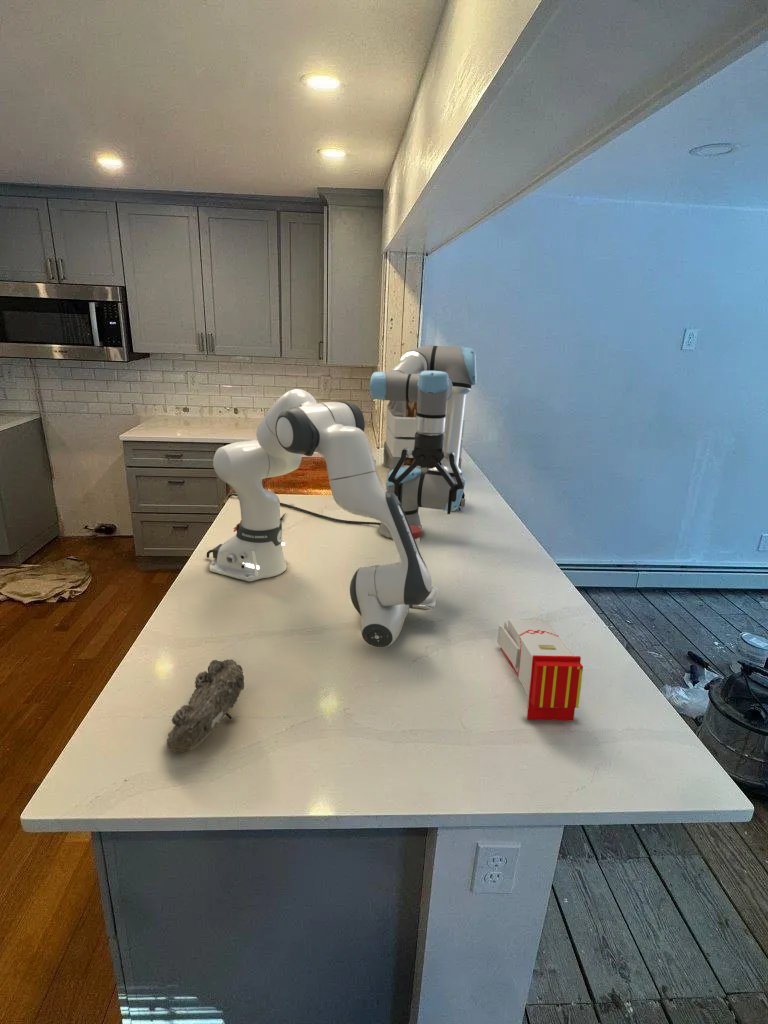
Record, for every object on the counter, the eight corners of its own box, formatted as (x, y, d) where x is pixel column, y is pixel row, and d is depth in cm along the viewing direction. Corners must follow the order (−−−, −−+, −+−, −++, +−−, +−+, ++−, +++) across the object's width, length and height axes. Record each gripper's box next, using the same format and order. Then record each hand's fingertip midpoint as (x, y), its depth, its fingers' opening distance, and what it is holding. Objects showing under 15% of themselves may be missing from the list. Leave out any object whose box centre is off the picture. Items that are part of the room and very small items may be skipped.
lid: (409, 529, 159) (410, 523, 159) (426, 535, 155) (426, 529, 155) (394, 534, 155) (394, 528, 155) (410, 541, 151) (410, 534, 151)
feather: (292, 507, 224) (294, 503, 223) (275, 531, 197) (278, 527, 197) (288, 505, 224) (291, 501, 223) (271, 528, 197) (273, 524, 197)
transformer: (382, 463, 289) (386, 382, 275) (445, 464, 293) (451, 384, 279) (390, 482, 257) (394, 392, 243) (460, 483, 261) (468, 394, 247)
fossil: (192, 660, 117) (244, 628, 112) (224, 691, 120) (276, 661, 115) (142, 746, 98) (202, 712, 93) (182, 779, 101) (242, 748, 96)
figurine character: (465, 515, 224) (460, 499, 237) (467, 498, 221) (462, 483, 234) (448, 515, 224) (444, 499, 237) (450, 498, 220) (445, 482, 234)
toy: (543, 604, 136) (592, 662, 106) (538, 656, 138) (584, 727, 109) (493, 603, 135) (528, 661, 106) (489, 655, 138) (522, 726, 109)
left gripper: (434, 598, 137) (442, 574, 150) (353, 586, 141) (367, 563, 154) (432, 621, 139) (440, 595, 152) (352, 608, 143) (366, 584, 156)
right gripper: (478, 433, 148) (471, 510, 155) (385, 426, 152) (382, 500, 159) (477, 439, 141) (469, 519, 148) (379, 431, 145) (376, 509, 152)
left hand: (403, 579), depth 153 cm, fingers open, 8 cm apart
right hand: (424, 509), depth 154 cm, fingers open, 13 cm apart
